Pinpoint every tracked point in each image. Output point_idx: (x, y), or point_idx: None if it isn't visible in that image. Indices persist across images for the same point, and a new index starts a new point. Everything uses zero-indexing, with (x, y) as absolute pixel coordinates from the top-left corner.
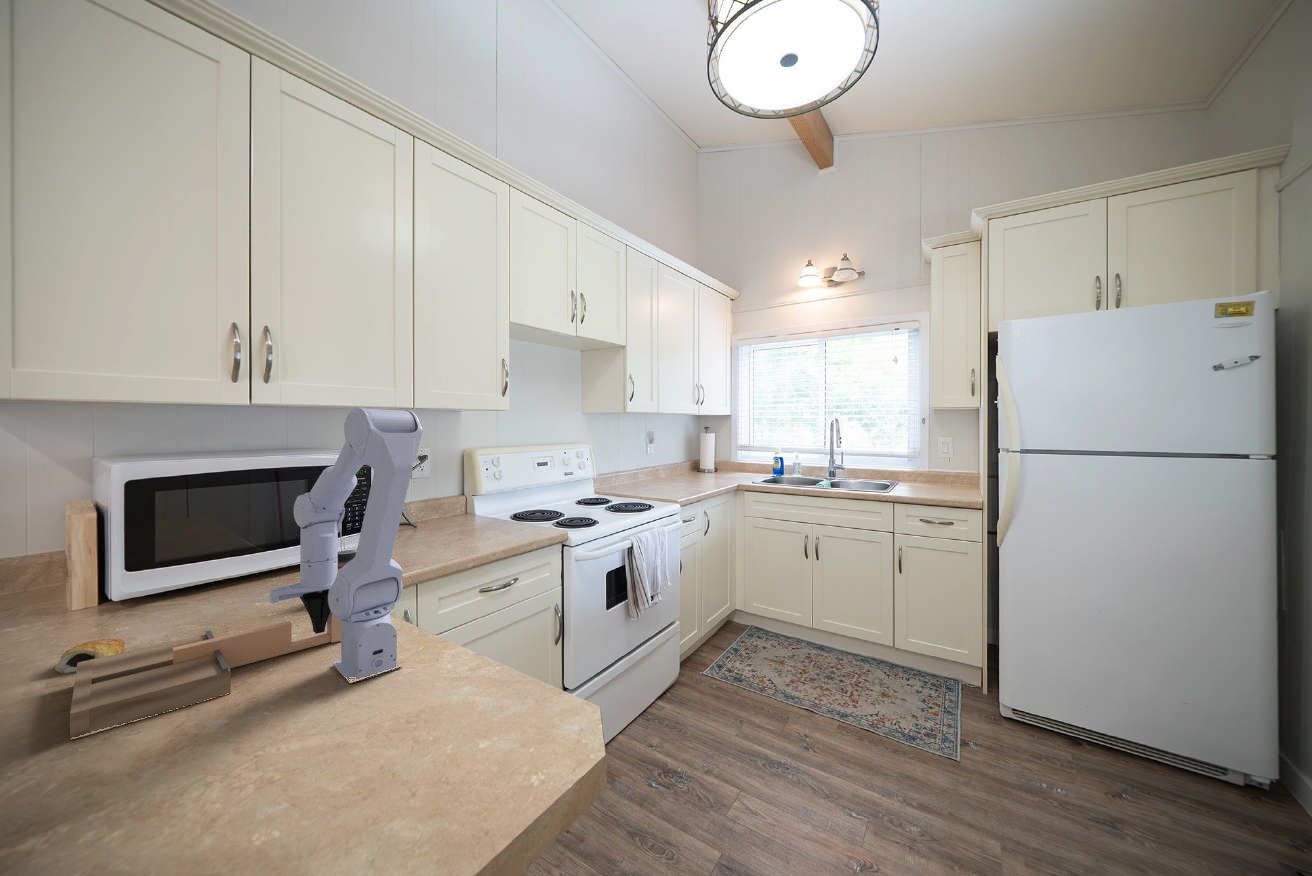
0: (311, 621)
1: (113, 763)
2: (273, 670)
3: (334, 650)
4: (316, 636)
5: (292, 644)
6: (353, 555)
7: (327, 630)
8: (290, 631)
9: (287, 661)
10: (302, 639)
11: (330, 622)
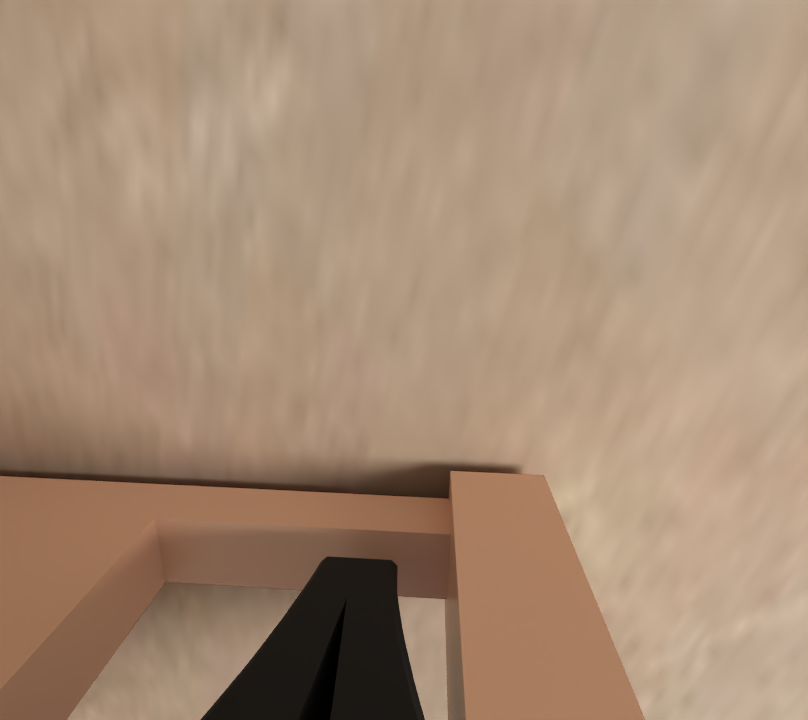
0: (278, 627)
1: None
2: (103, 672)
3: (427, 659)
4: (354, 540)
5: (174, 567)
6: None
7: (451, 534)
8: (74, 694)
9: (173, 616)
10: (250, 524)
11: (451, 713)
